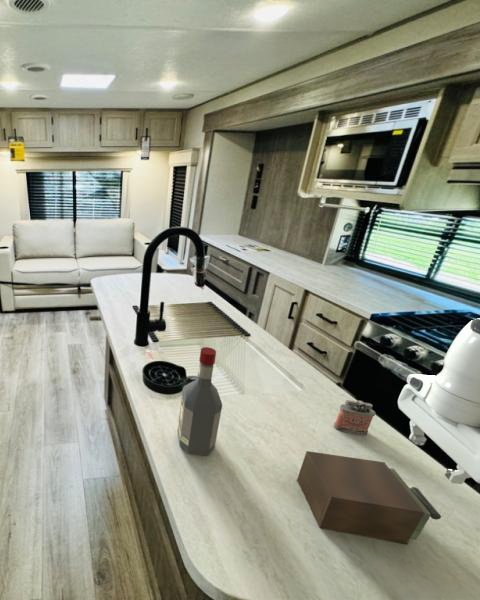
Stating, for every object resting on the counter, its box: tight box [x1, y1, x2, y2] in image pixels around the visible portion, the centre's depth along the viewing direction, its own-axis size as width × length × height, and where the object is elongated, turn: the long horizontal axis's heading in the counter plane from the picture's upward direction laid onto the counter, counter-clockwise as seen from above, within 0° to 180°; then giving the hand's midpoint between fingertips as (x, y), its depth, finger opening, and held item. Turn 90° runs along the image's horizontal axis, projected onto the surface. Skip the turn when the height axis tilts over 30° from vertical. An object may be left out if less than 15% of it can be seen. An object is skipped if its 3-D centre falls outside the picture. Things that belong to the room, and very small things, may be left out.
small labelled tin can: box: [333, 399, 376, 436], centre depth 89 cm, size 8×3×10 cm, turn 74°
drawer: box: [389, 467, 442, 541], centre depth 67 cm, size 18×10×8 cm, turn 77°
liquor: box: [177, 346, 223, 457], centre depth 83 cm, size 9×9×30 cm
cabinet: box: [296, 450, 425, 545], centre depth 68 cm, size 16×12×10 cm
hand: (433, 459), depth 61 cm, fingers open, 8 cm apart
